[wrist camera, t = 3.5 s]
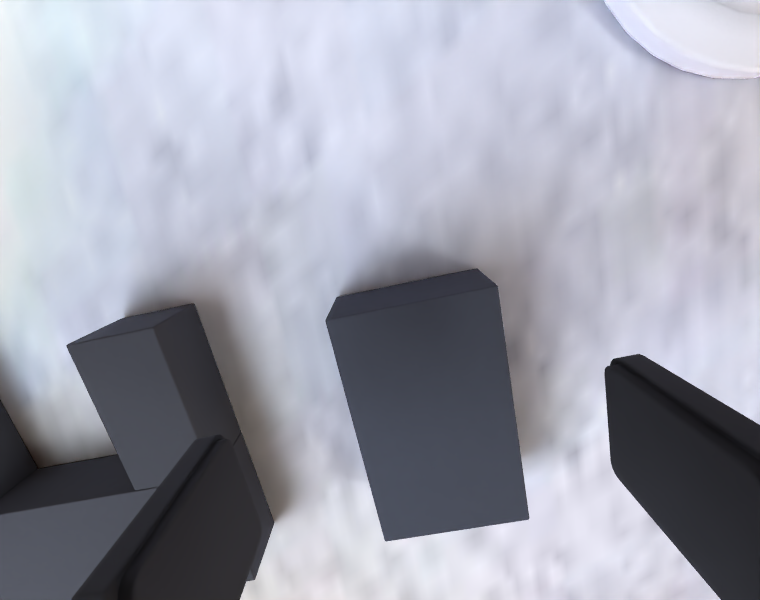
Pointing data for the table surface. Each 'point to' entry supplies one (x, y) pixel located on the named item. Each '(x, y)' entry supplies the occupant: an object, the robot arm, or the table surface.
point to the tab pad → (432, 403)
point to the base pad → (133, 445)
